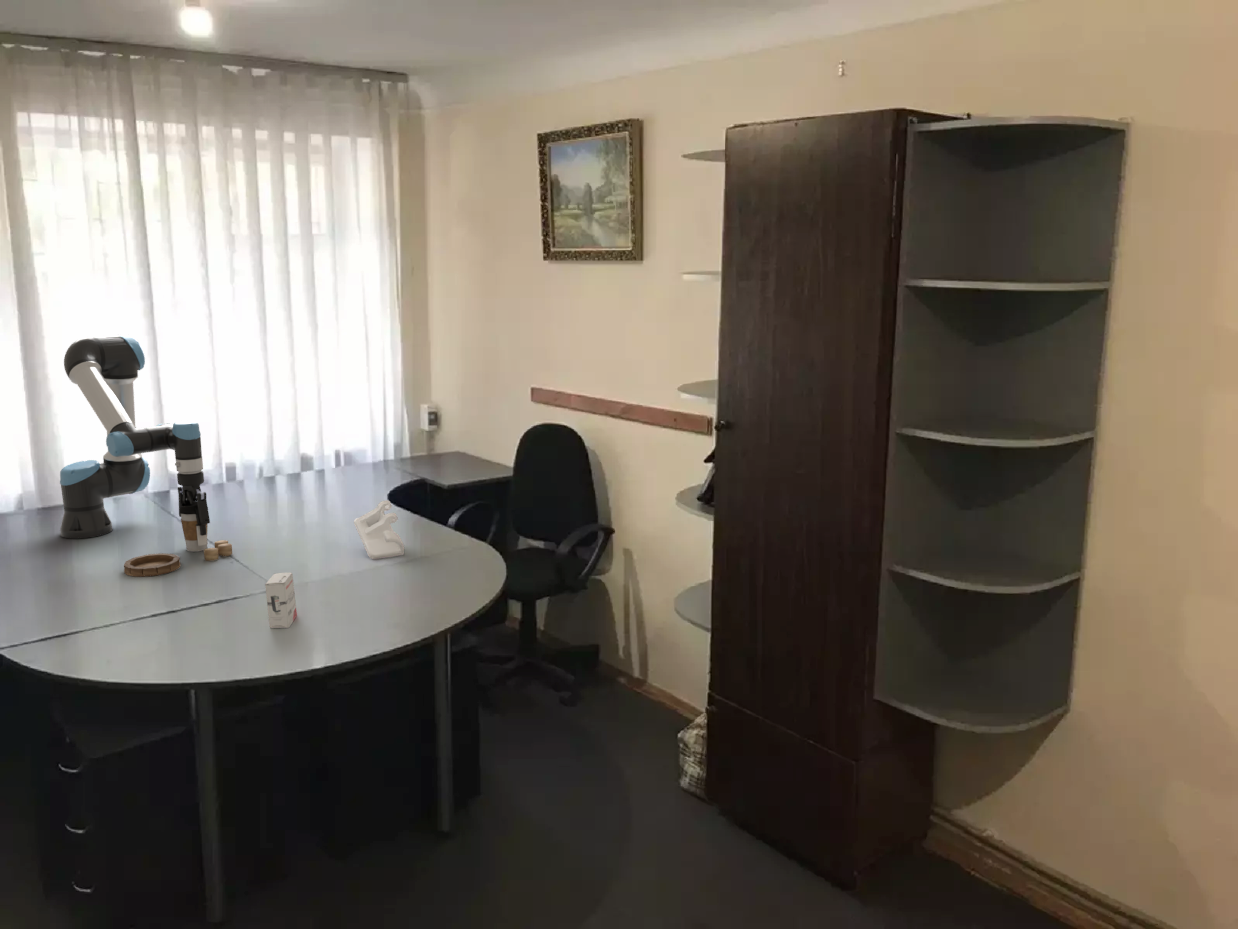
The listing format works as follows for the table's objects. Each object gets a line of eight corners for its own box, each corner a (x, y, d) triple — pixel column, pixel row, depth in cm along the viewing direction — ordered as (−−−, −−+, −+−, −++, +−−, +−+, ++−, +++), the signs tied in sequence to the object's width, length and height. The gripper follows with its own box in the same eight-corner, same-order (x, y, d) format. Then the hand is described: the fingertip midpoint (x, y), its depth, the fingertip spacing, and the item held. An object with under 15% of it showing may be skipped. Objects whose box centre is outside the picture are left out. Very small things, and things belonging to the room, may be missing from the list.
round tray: (115, 569, 283) (114, 561, 282) (166, 557, 294) (165, 550, 293) (138, 580, 273) (137, 572, 273) (189, 567, 284) (189, 560, 284)
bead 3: (216, 554, 297) (215, 545, 296) (228, 552, 300) (227, 542, 299) (222, 557, 295) (221, 548, 294) (234, 554, 298) (234, 545, 297)
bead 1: (202, 559, 293) (201, 549, 292) (214, 556, 296) (213, 547, 295) (208, 562, 290) (207, 552, 290) (221, 558, 293) (220, 549, 293)
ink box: (277, 616, 247) (273, 572, 244) (297, 615, 247) (294, 571, 245) (268, 629, 238) (264, 583, 236) (288, 628, 239) (285, 583, 236)
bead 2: (212, 551, 300) (211, 542, 300) (224, 548, 303) (224, 539, 303) (219, 554, 298) (218, 544, 297) (231, 551, 301) (230, 541, 300)
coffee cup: (200, 553, 298) (196, 506, 294) (176, 551, 299) (172, 505, 296) (217, 545, 306) (213, 500, 303) (193, 544, 307) (189, 498, 304)
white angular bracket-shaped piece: (404, 567, 302) (409, 536, 294) (368, 573, 296) (372, 541, 289) (384, 525, 315) (388, 495, 307) (350, 530, 309) (353, 499, 301)
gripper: (162, 468, 301) (169, 538, 306) (194, 478, 288) (200, 551, 293) (185, 464, 306) (192, 533, 311) (218, 474, 294) (224, 545, 299)
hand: (196, 542), depth 302 cm, fingers closed on coffee cup, 8 cm apart
